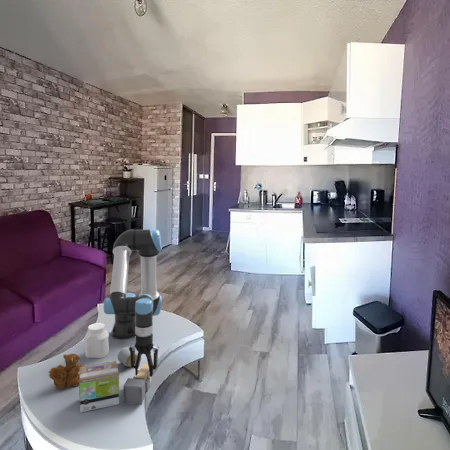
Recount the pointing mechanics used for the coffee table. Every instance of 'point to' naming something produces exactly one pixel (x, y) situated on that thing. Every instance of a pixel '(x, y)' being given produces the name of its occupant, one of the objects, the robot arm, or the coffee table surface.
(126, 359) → the ceramic mug
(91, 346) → the jar
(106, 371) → the tea box
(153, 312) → the robot arm
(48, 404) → the coffee table surface
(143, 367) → the tan rectangular block
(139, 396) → the gray bracket pieces
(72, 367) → the stuffed squirrel
